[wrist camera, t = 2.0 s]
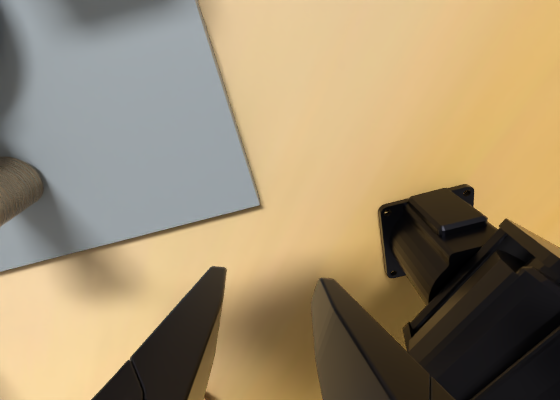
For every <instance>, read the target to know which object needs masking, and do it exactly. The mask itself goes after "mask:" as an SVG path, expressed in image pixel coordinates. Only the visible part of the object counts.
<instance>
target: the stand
mask: <svg viewBox="0 0 560 400" xmlns="http://www.w3.org/2000/svg"><path fill="white" fill-rule="evenodd" d="M0 157H13V158H17V159H20V160H22V161H24V162H26V163H27V164H29V165H30V166H32V167H33V168H34V169H35V170H36V171H37V173H38V174H39V175H40V177H41V179H42V181H43V185H44V191H43V195H42V197H41V198H40V199H39V200H38V201H37V202H35V203H34V204H32V205H31V206H30V207H28V208H27V209H25V210H24V211H22V212H21V213H20V214H18V215H17V216H15V217H14V218H12V219H11V220H10V221H8V222H7V223H5V224H4V225H3V226H1V227H0V272H1V271H5V270H9V269H13V268H16V267H20V266H24V265H28V264H32V263H36V262H40V261H44V260H48V259H52V258H55V257H59V256H63V255H67V254H71V253H75V252H79V251H83V250H87V249H91V248H94V247H98V246H102V245H106V244H110V243H114V242H118V241H122V240H126V239H130V238H133V237H137V236H141V235H145V234H149V233H153V232H157V231H161V230H165V229H169V228H172V227H176V226H180V225H184V224H188V223H192V222H196V221H200V220H204V219H208V218H211V217H215V216H219V215H223V214H227V213H231V212H235V211H239V210H243V209H247V208H250V207H254V206H258V205H260V198H259V195H258V192H257V189H256V185H255V182H254V179H253V176H252V173H251V169H250V166H249V163H248V160H247V157H246V153H245V150H244V147H243V144H242V141H241V138H240V134H239V131H238V128H237V125H236V122H235V118H234V115H233V112H232V109H231V106H230V102H229V99H228V96H227V93H226V90H225V86H224V83H223V80H222V77H221V74H220V71H219V67H218V64H217V61H216V58H215V55H214V51H213V48H212V45H211V42H210V39H209V35H208V32H207V29H206V26H205V23H204V19H203V16H202V13H201V10H200V7H199V4H198V0H0Z"/></svg>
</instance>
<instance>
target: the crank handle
mask: <svg viewBox="0 0 560 400" xmlns="http://www.w3.org/2000/svg"><path fill="white" fill-rule="evenodd" d="M43 191H44V185H43V181H42V179H41V177H40V175H39V174H38V173H37V171H36V170H35V169H34V168H33V167H32V166H30V165H29V164H27V163H26V162H24V161H22V160H20V159H17V158H13V157H0V227H1V226H3V225H4V224H5V223H7V222H8V221H10V220H11V219H12V218H14V217H15V216H17V215H18V214H20V213H21V212H22V211H24V210H25V209H27V208H28V207H30V206H31V205H32V204H34V203H35V202H37V201H38V200H39V199H40V198H41V197H42V195H43Z"/></svg>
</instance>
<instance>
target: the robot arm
mask: <svg viewBox="0 0 560 400" xmlns="http://www.w3.org/2000/svg"><path fill="white" fill-rule="evenodd" d="M466 190H467V192H466V193H464V191H466ZM463 193H464V194H463ZM473 205H474V189H473V188H472V187H471V186H469V185H467V184H463V185H459V186H455V187H451V188H442V189H438V190H434V191H430V192H427V193H423V194H419V195H415V196H411V197H410V198H408V199H404V200H400V201H396V202H392V203H388V204H384V205H382V206H381V207H380V208H379V221H380V230H381V238H382V247H383V255H384V264H385V272H386V274H387V276H388V277H389V278H396V277H401V276H405V275H407V277H408V278H409V280H410V281H411V283H412V284H413V286H414V287H415V289H416V290H417V292H418V293H419V295H420V296H421V298H422V299H423V301H424V302H425V304H426V305H427V306H426V307H425V308H424V309H423V310H422V311H421V312H420V313H419V314H418V315H417V316H416V317H415V319H414V320H413V321H412V322H411V323H410V322H408V323H407V324H406V325H405V327H404V328H403V333H404V338H405V343H406V348H407V351H406V350H405V349H404V348H403V347H402V346H401V345H400V344H399V343H398V342H397V341H396V340H395V339H394V338H393V337H392V336H391V335H390V334H389V333H388V332H387V331H386V330H385V329H384V328H383V327H382V326H381V325H380V324H379V323H378V322H376V321H375V320H374V319H373V318H372V317H371V316H370V315H369V314H368V313H367V312H366V311H365V310H364V309H363V308H362V307H361V306H360V305H359V304H358V303H357V302H356V301H355V300H354V299H353V298H352V297H351V296H350V295H349V294H348V293H347V292H346V291H345V290H344V289H343V288H342V287H341V286H340V285H339V284H338V283H337V282H336V281H335V280H334V279H331V278H319V280H318V281H317V284H316V288H315V291H314V294H313V297H312V301H311V312H312V325H313V337H314V350H315V360H316V366H317V372H318V377H319V382H320V388H321V393H322V398H323V400H560V248H559V247H558V246H556V245H554V244H552V243H550V242H548V241H547V240H545V239H543V238H541V237H539V236H538V235H536V234H534V233H532V232H530V231H528V230H527V229H525V228H523V227H521V226H519V225H518V224H516V223H514V222H512V221H510V220H509V219H507V218H506V219H505V220H504V221H503V222H502V223H501V224H500V225H499V227H500V228H499V229H497V228H495V227H494V226H493V225H491V224H490V223H489V222H487V220H488V218H487V217H486V216H485V215H483V214H482V213H481V212H479V211H478V210H476V209H475V208H474V207H473ZM386 210H389V211H388V213H384V212H385V211H386ZM392 271H394V272H392ZM226 272H227V269H226V268H225V267H216V266H212V267H210V268H209V270H208V271H207V272H206V273H205V274H204V275H203V276H202V277H201V279H200V280H199V281H198V282H197V283H196V284H195V285H194V286H193V288H192V289H191V290H190V291H189V292H188V293H187V294H186V295H185V297H184V298H183V299H182V300H181V301H180V302H179V303H178V304H177V306H176V307H175V308H174V309H173V310H172V311H171V312H170V313H169V315H168V316H167V317H166V318H165V319H164V320H163V321H162V322H161V324H160V325H159V326H158V327H157V328H156V329H155V330H154V331H153V333H152V334H151V335H150V336H149V337H148V338H147V339H146V340H145V342H144V343H143V344H142V345H141V346H140V347H139V348H138V349H137V351H136V352H135V353H134V354H133V355H132V356H131V357H130V360H128V361H126V363H125V364H124V365H123V366H122V367H121V368H120V369H119V371H118V372H117V373H116V374H115V375H114V376H113V377H112V378H111V379H110V380H109V381H108V383H107V384H106V385H105V386H104V387H103V388H102V389H101V390H100V391H99V392H98V393H97V394H96V395H95V396H94V397H93V398H92V399H91V400H203V399H204V395H205V392H206V388H207V384H208V380H209V376H210V372H211V368H212V364H213V360H214V356H215V350H216V344H217V337H218V331H219V324H220V317H221V311H222V304H223V297H224V289H225V281H226Z"/></svg>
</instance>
